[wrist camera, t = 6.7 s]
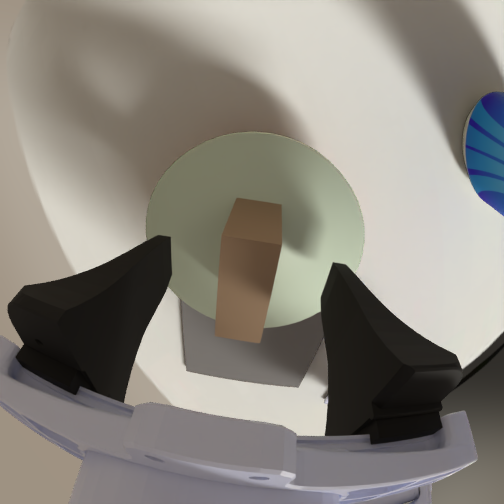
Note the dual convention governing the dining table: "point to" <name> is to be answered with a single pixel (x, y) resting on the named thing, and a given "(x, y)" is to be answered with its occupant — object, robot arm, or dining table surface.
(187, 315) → the mat
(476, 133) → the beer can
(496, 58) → the dining table surface
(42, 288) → the robot arm
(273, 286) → the lid
